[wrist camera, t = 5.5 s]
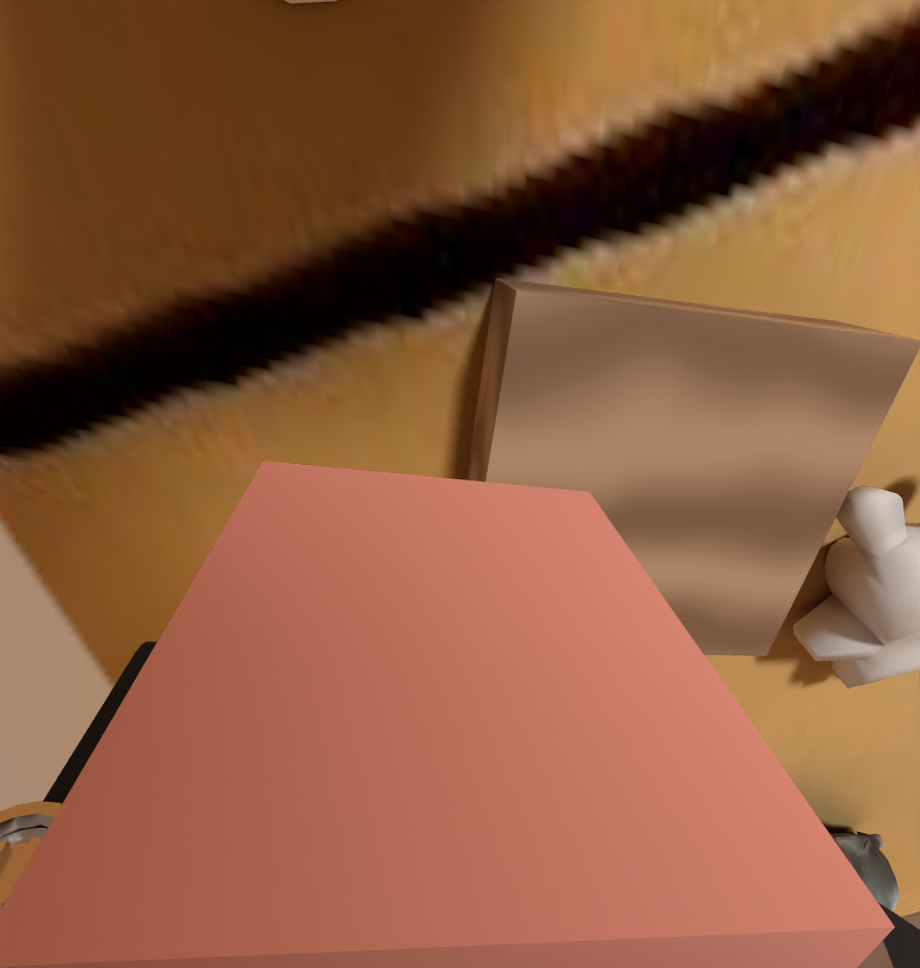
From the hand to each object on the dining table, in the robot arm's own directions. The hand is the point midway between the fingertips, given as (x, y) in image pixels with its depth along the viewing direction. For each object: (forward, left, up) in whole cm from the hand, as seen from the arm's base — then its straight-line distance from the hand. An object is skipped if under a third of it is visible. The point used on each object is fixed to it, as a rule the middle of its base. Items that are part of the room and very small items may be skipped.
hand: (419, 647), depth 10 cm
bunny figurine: (+7, +27, -16) cm, 32 cm away
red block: (0, 0, -1) cm, 1 cm away
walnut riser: (+2, +11, -16) cm, 20 cm away
